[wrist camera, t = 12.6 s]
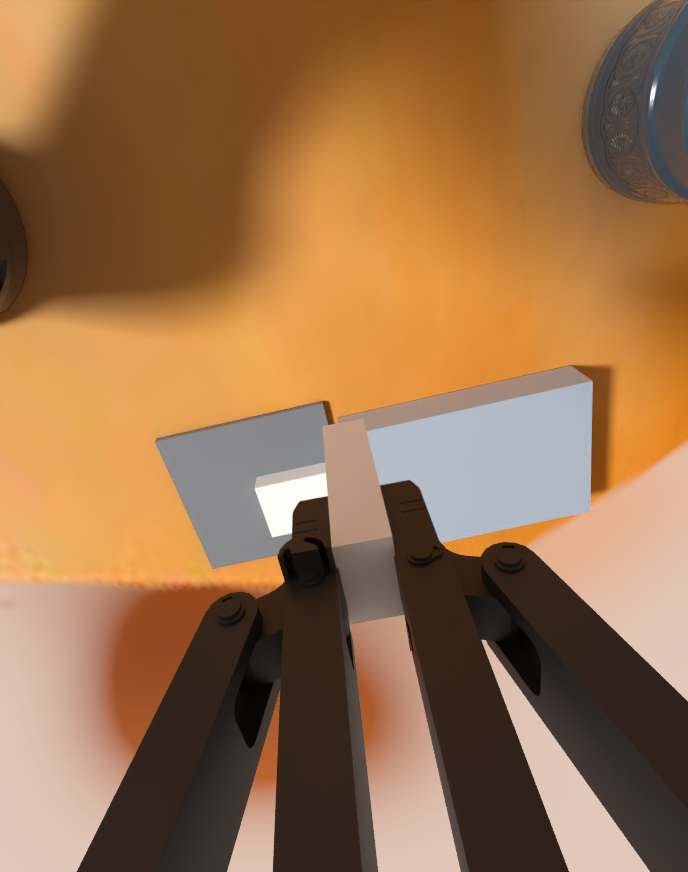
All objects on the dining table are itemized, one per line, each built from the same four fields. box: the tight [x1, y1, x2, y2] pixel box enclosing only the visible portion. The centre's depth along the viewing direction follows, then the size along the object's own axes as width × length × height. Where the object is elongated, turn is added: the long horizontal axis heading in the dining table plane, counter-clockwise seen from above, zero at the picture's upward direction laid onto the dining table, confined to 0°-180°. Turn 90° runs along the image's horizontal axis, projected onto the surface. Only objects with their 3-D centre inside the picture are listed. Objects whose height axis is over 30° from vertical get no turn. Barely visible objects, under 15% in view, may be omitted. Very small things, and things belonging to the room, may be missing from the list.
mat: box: [155, 401, 329, 569], centre depth 49 cm, size 16×16×1 cm
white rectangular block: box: [255, 462, 328, 537], centre depth 49 cm, size 9×6×2 cm, turn 102°
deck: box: [338, 365, 593, 543], centre depth 47 cm, size 22×14×4 cm, turn 102°
